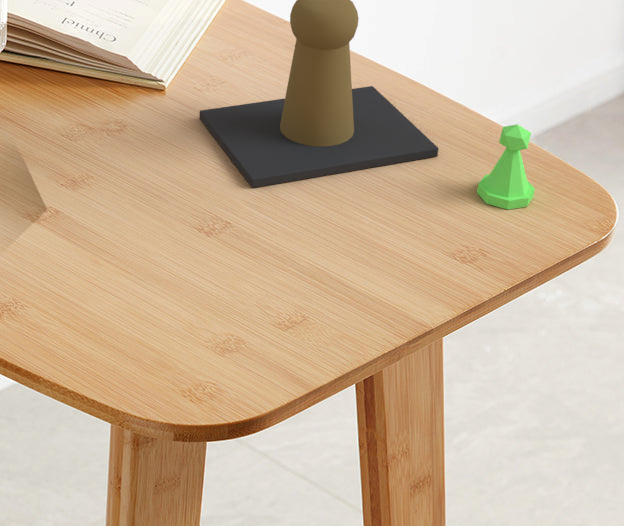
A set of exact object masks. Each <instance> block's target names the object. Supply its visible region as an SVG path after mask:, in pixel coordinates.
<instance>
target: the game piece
mask: <svg viewBox="0 0 624 526" xmlns="http://www.w3.org/2000/svg"><path fill="white" fill-rule="evenodd" d="M531 136H532V132H531V131H529V130H528V129H526V128H524V127H523V126H521V125H519V124H512V125H506V126H502V130H501V132H500V136H499V141H498V143H499V144H500V145H501V146H503V147H505V150H504V151H503V152H502V154H501V155H500V157H499V159H498V160H497V162H496V163H495V165H494V167H493V168H492V170H491V172H490V173H489V174H485V175H484V176H483V177H482V179H481V180H480V181H479V182H478V185H477V190H476V193H477V195H478V196H479V197H480V198H481V199H482V200H483V201H484V203H485V204H486V205H489V206H493V207H497V208H500V209H503V210H513V209H514V210H515V209H521V208H527V207H528V206H529V205H530V203H531V201H532V200H533V199H534V195H535V190H536V188H535V187H534V186H533V185H532V184H531V183H530V181H528V177H527V173H526V170H525V165H524V161H523V157H522V152H521V151H523V150H528V148H529V144H530V140H531Z"/></svg>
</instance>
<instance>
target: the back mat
mask: <svg viewBox="0 0 624 526" xmlns="http://www.w3.org/2000/svg"><path fill="white" fill-rule="evenodd" d="M352 101H353V119H354V133H353V136H352V137H351V138H350V139H349V140H348V141H346V142H344V143H341V144H338V145H333V146H321V147H316V146H308V145H303V144H300V143H296V142H294V141H292V140H290V139H288V138H286V137H285V136H284V135H283V134H282V133H281V130H280V123H281V118H282V112H283V107H284V102H285V98H278V99H272V100H265V101H258V102H251V103H243V104H236V105H229V106H222V107H215V108H208V109H200V110H199V120H200V121H201V123H202V124H203V126H204V127H205V128H206V129H207V130H208V132H209V134H210V135H211V136H212V137H213V139H214V140H215V141H216V143H217V144H218V145H219V147H220V148H221V149H222V150H223V152H224V153H225V154H226V156H227V157H228V158H229V160H230V161H231V162H232V164H233V165H234V166H235V168H236V169H237V170H238V171H239V173H240V174H241V175H242V177H243V178H244V179H245V180H246V183H248V185H249V186H250V187H251V188H252V189H254V188H255V189H256V188H260V187H266V186H272V185H273V186H274V185H278V184H284V183H290V182H295V181H302V180H308V179H312V178H320V177H324V176H330V175H331V176H332V175H337V174H343V173H348V172H353V171H354V172H355V171H360V170H366V169H371V168H377V167H384V166H389V165H395V164H402V163H407V162H412V161H413V162H414V161H417V160H425V159H430V158H436V157H438V154H439V147H438V146H437V145H436V144H435V143H434V142H433V141H432V140H431V139H430V138H429V137H427V136H426V135H425V133H423V132H422V131H421V130H420V129H419V128H418V127H417V126H416V125H415V124H414V123H412V121H411V120H410V119H408V118H407V117H406V116H405V115H404V114H403V113H402V112H401V111H400V110H399V109H398V108H396V107H395V106H394V105H393V104H392V103H391V102H390V101H389V100H388V99H387V98H386V97H385V96H384V95H383V94H382V93H381V92H380V91H378V90H377V89H376V88H375V87H374V86H373V85H370V86H362V87H355V88H352Z"/></svg>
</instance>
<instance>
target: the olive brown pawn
mask: <svg viewBox="0 0 624 526" xmlns="http://www.w3.org/2000/svg"><path fill="white" fill-rule="evenodd" d="M289 14H290V15H289V24H290V28H291V32H292V34H293V36H294V37H295V43H294V50H293V54H292V60H291V66H290V70H289V75H288V81H287V86H286V92H285V97H284V99H285V102H284V107H283V112H282V118H281V123H280V130H281V133H282V134H283V135H284V136H285V137H286V138H288V139H290V140H292V141H294V142H296V143H300V144H303V145H308V146H316V147H321V146H333V145H338V144H341V143H344V142H346V141H348V140H349V139H350V138H351V137H352V136H353V133H354V119H353V101H352V89H353V87H352V86H353V85H352V84H353V83H352V68H351V67H352V65H351V47H350V42H351V41H352V40H353V39H354V37H355V35H356V32H357V29H358V26H359V14H358V10H357V8H356V5H355V4H354V1H352V0H295V2H294V4H293V5H292V8H291V11H290V13H289Z"/></svg>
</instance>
